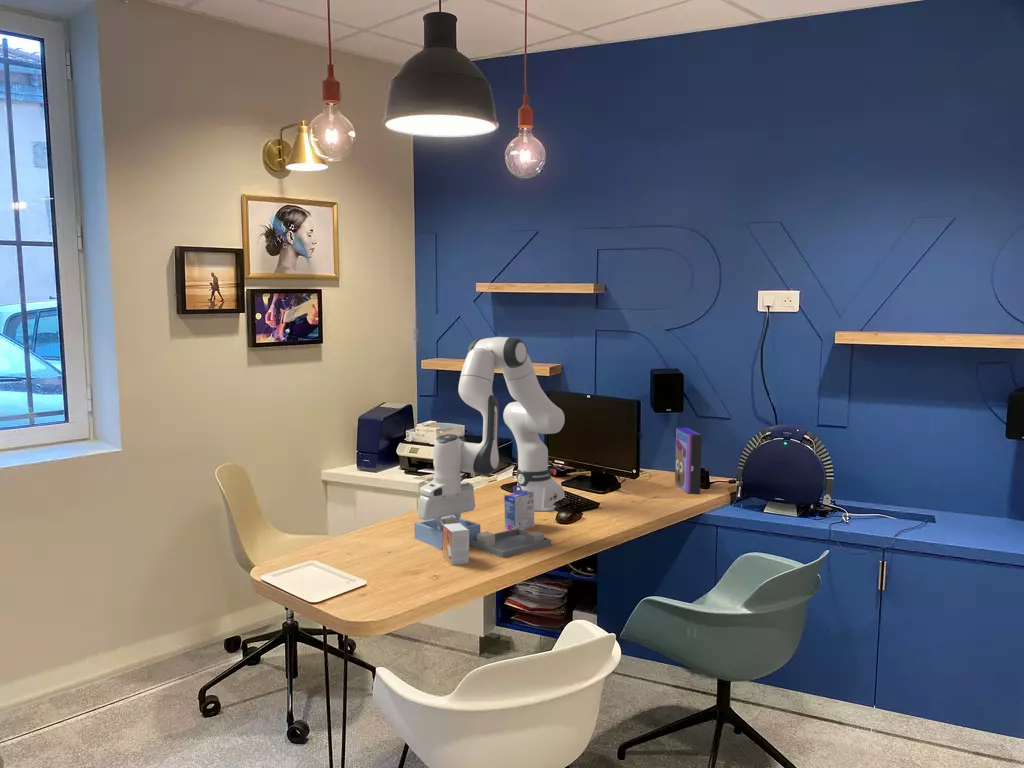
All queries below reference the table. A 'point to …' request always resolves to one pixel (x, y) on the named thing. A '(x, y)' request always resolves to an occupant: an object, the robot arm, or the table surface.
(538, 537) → the gray cube
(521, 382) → the robot arm
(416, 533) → the blue square bin
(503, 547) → the parts tray
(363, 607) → the table surface
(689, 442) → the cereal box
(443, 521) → the beige cardboard cube
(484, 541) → the cream sharp-edged cube
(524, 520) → the ink cartridge box
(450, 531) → the small box
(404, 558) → the table surface
